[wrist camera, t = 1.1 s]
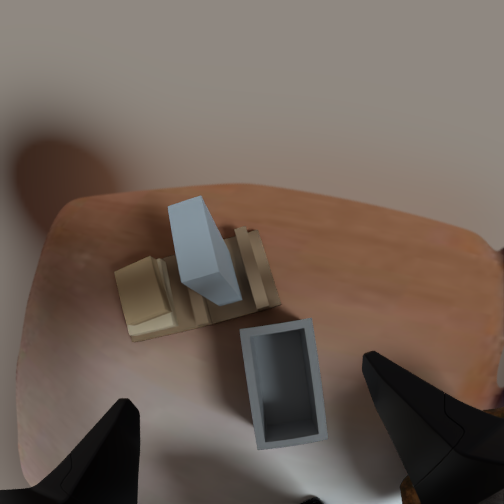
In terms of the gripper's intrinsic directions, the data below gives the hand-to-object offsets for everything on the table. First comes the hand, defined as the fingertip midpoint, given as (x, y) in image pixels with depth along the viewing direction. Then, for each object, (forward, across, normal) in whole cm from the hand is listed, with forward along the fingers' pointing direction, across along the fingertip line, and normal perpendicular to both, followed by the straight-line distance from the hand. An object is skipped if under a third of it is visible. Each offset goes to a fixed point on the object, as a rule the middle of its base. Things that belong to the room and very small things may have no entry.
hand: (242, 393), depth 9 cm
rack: (+15, +4, +3) cm, 16 cm away
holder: (+9, -2, +10) cm, 14 cm away
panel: (+15, +2, +3) cm, 15 cm away
